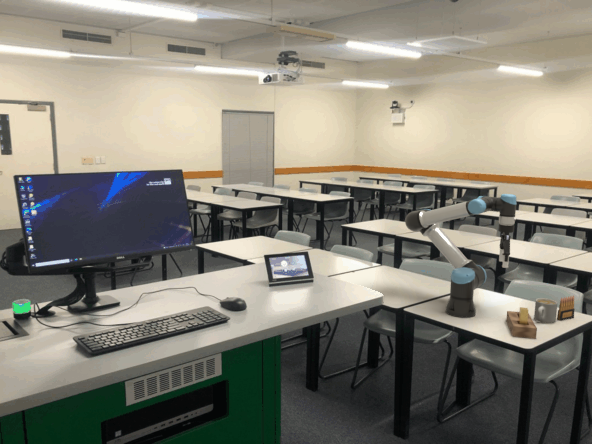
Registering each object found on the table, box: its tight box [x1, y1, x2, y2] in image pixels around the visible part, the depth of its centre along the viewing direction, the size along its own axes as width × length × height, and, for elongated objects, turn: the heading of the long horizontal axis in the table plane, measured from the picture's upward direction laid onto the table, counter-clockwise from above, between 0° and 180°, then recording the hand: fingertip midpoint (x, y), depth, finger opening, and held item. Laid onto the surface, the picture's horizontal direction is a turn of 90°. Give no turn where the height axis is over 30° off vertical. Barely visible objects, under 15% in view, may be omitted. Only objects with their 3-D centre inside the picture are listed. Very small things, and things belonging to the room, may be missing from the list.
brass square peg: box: [518, 307, 529, 325], centre depth 237 cm, size 3×3×12 cm
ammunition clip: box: [556, 295, 575, 322], centre depth 257 cm, size 11×2×12 cm, turn 116°
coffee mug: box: [533, 297, 558, 324], centre depth 254 cm, size 13×10×10 cm
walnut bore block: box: [506, 310, 538, 339], centre depth 243 cm, size 10×22×5 cm, turn 165°
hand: (503, 264), depth 260 cm, fingers open, 13 cm apart
